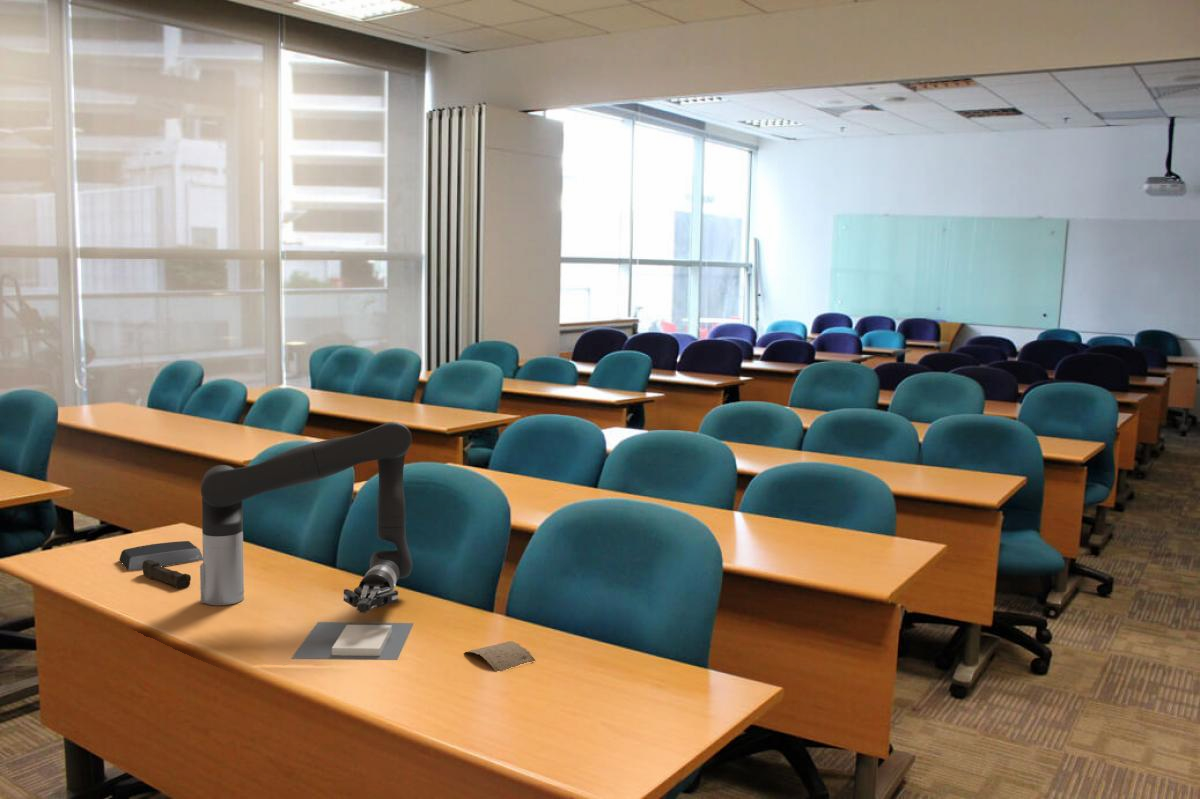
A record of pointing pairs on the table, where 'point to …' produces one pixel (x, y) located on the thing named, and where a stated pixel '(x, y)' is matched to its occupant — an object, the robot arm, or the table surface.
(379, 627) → the tile
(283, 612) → the table surface
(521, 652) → the clay tablet
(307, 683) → the table surface
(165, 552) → the external hard drive
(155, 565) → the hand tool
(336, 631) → the mat
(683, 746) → the table surface
